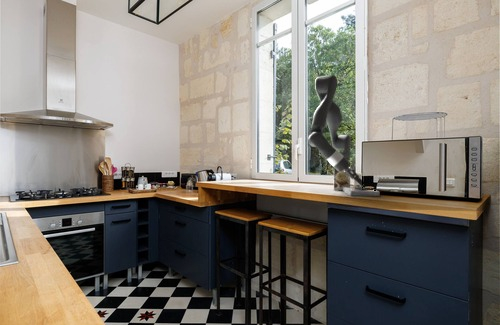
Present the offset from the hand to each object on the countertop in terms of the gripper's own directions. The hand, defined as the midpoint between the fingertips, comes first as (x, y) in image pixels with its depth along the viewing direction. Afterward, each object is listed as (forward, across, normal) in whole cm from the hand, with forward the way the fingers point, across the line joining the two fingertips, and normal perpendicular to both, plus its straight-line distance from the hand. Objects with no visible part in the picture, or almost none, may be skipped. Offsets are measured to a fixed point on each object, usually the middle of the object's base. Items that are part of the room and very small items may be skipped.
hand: (362, 183), depth 146 cm
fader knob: (0, 0, +3) cm, 3 cm away
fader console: (+2, -4, +5) cm, 7 cm away
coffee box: (-2, +14, +9) cm, 16 cm away
